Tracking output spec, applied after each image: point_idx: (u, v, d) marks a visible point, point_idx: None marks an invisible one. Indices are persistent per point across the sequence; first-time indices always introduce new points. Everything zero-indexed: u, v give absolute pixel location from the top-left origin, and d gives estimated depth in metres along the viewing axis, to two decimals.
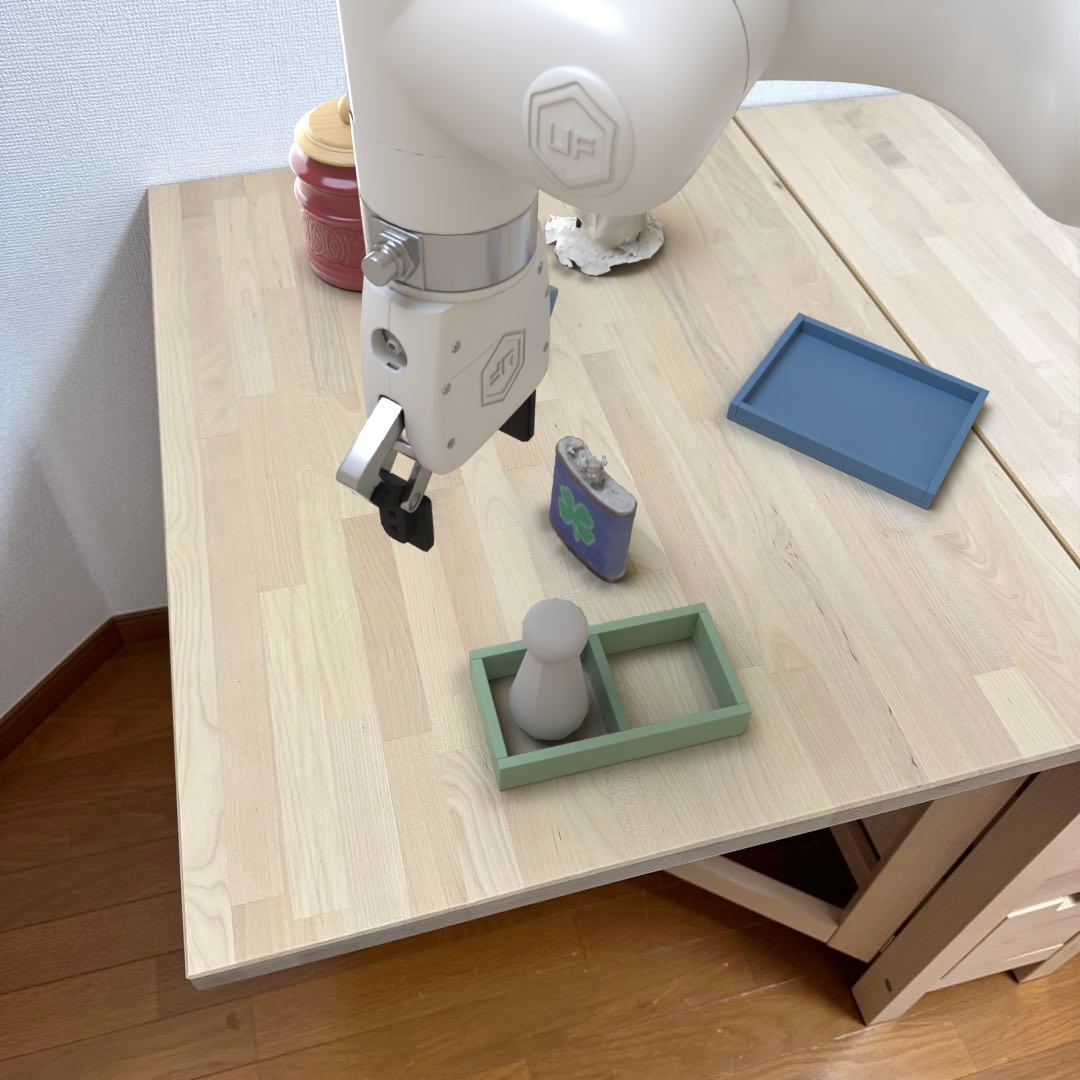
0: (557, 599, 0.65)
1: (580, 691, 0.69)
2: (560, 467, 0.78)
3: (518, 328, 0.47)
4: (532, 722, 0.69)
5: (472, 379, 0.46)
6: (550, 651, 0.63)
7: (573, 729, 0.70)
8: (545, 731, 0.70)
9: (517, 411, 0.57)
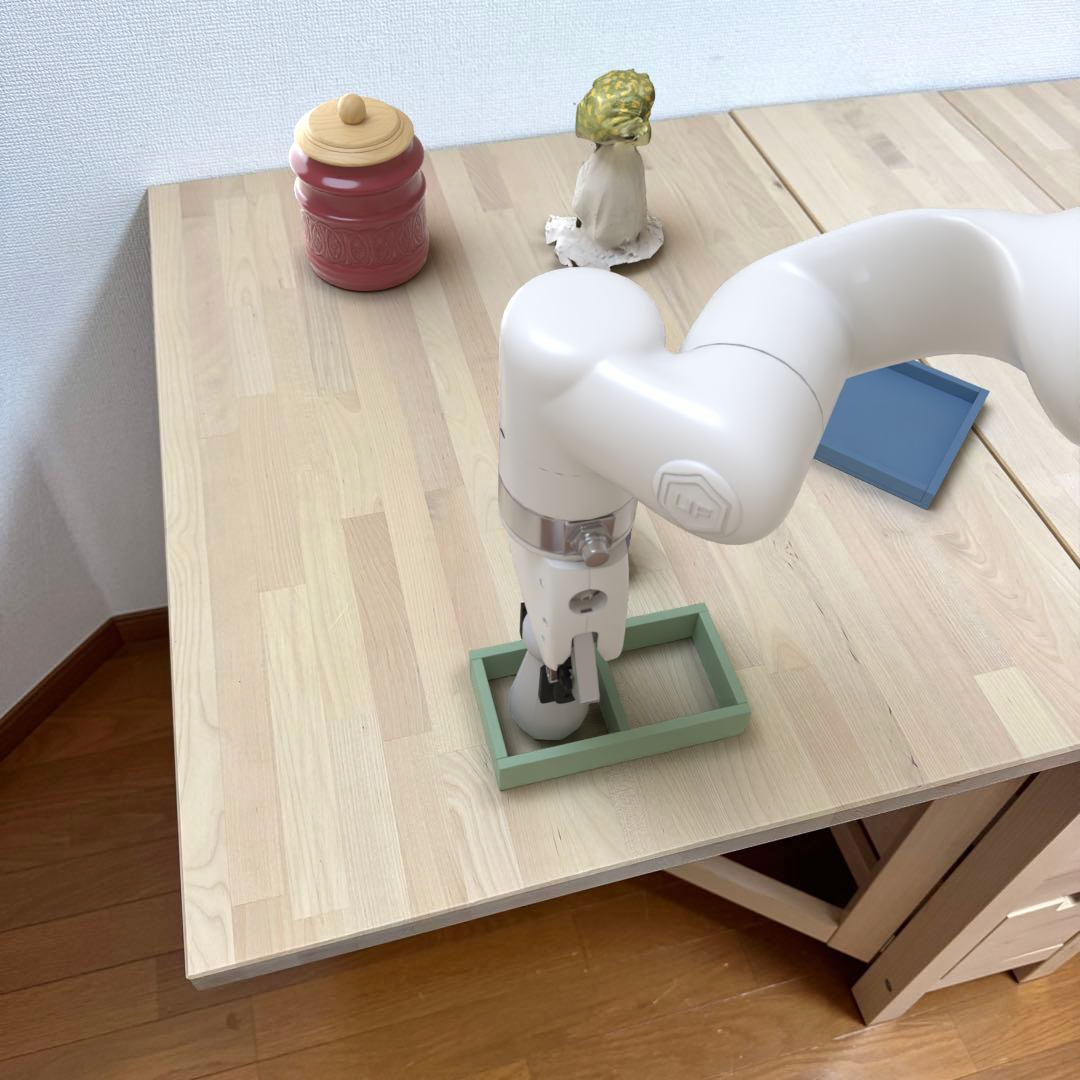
0: None
1: None
2: None
3: None
4: (532, 722, 0.69)
5: None
6: None
7: (573, 729, 0.70)
8: (545, 731, 0.70)
9: None
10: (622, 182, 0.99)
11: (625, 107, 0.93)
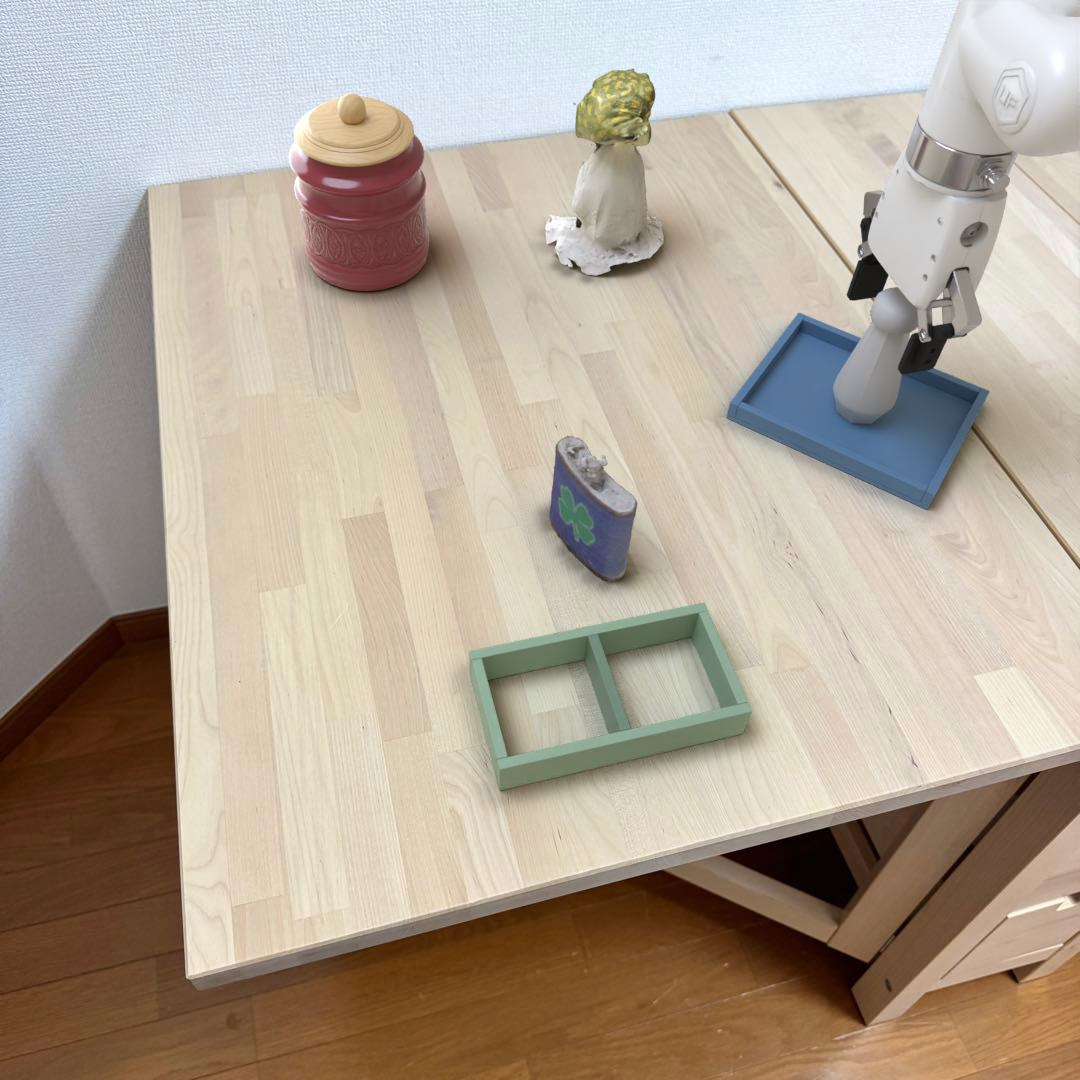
0: None
1: None
2: (560, 467, 0.78)
3: None
4: (861, 398, 0.89)
5: None
6: (900, 320, 0.83)
7: (889, 408, 0.91)
8: (869, 407, 0.90)
9: (882, 276, 0.87)
10: (622, 182, 0.99)
11: (625, 107, 0.93)
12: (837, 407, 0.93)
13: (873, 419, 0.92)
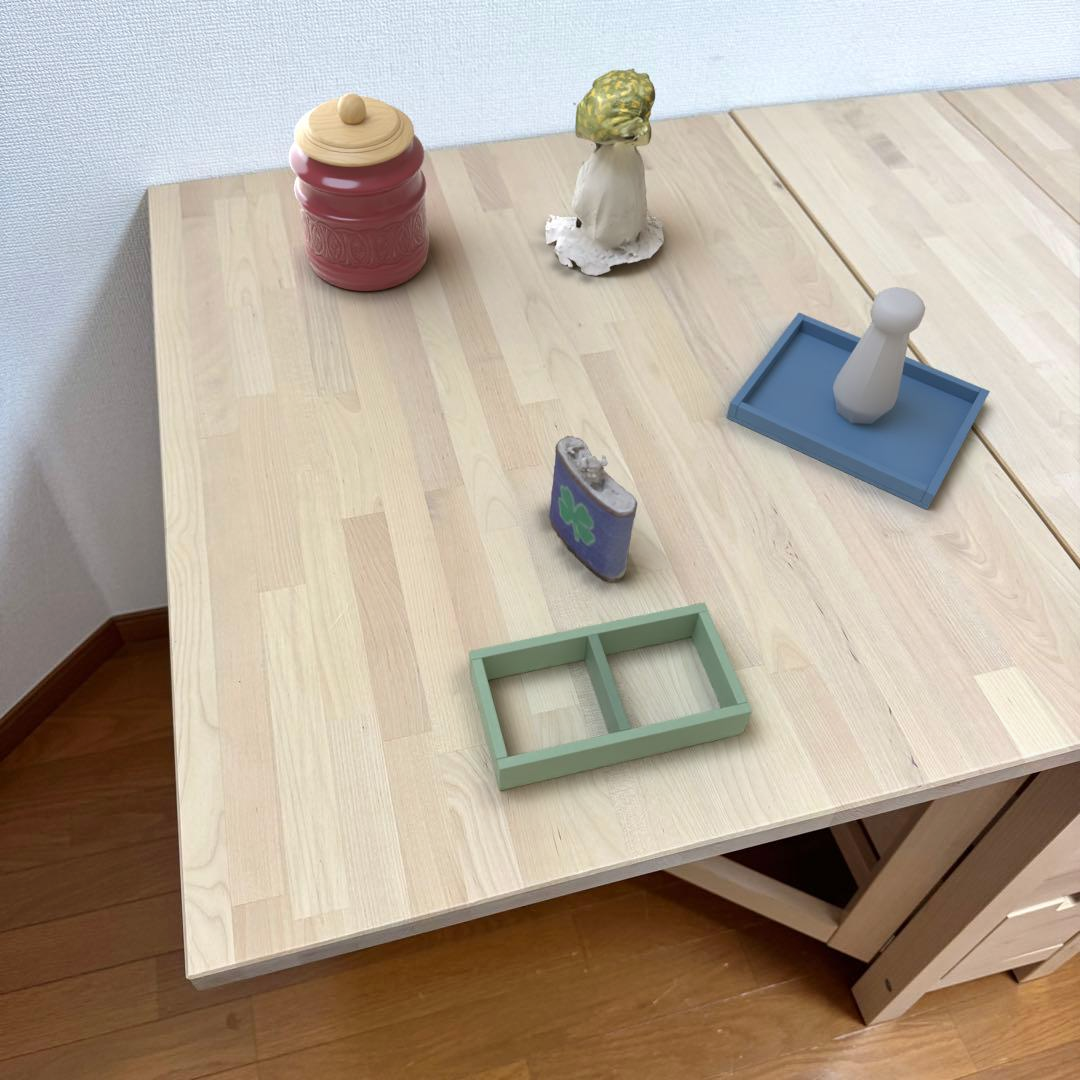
0: (898, 287, 0.85)
1: (900, 372, 0.89)
2: (560, 467, 0.78)
3: None
4: (861, 398, 0.89)
5: None
6: (900, 320, 0.83)
7: (889, 408, 0.91)
8: (869, 407, 0.90)
9: None
10: (622, 182, 0.99)
11: (625, 107, 0.93)
12: (837, 407, 0.93)
13: (873, 419, 0.92)
